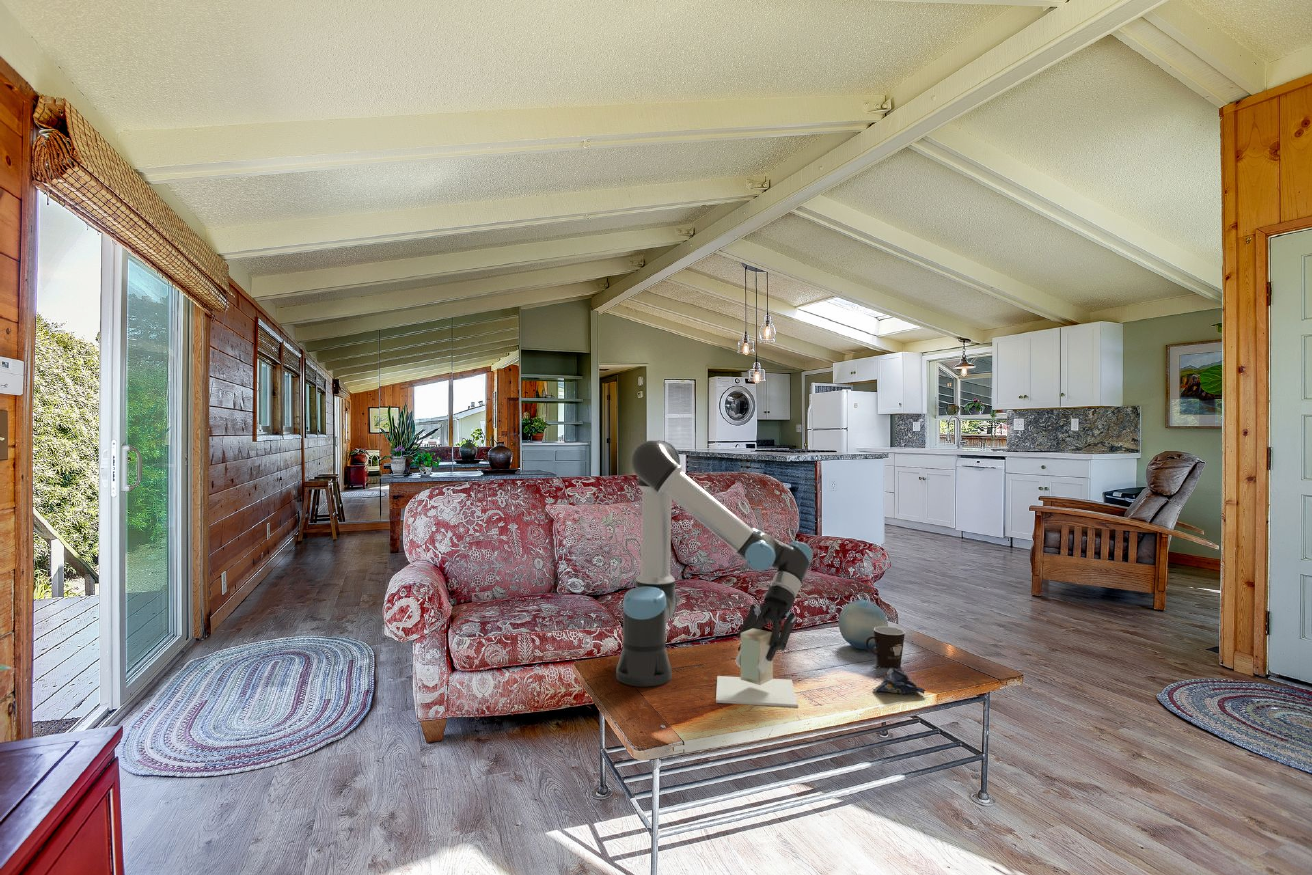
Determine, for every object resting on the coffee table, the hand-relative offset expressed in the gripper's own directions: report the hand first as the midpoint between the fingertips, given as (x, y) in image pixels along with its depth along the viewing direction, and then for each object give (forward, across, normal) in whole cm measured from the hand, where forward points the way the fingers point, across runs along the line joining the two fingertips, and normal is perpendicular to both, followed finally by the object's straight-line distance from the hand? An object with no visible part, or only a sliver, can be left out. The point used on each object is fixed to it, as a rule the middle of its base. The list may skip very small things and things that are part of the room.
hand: (749, 667), depth 168 cm
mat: (+3, 0, -8) cm, 8 cm away
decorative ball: (-35, -5, -46) cm, 58 cm away
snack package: (-15, -27, -26) cm, 41 cm away
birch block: (0, 0, -5) cm, 5 cm away
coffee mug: (-28, -16, -39) cm, 50 cm away
